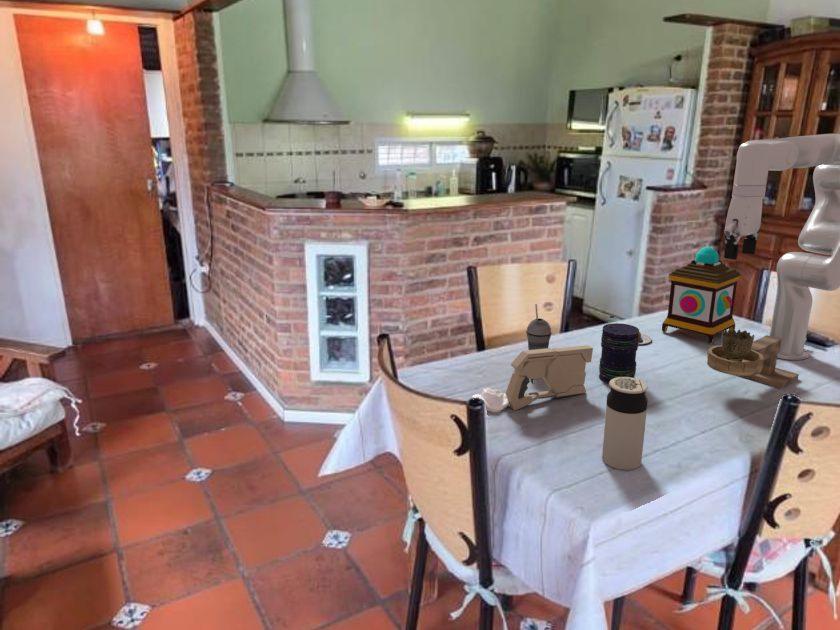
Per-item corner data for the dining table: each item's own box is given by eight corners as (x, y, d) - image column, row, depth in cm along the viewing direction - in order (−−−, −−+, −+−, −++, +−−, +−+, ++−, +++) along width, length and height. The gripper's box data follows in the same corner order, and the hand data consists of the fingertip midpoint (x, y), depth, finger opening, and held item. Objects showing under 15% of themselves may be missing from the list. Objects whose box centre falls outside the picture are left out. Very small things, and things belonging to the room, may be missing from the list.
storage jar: (640, 377, 167) (646, 317, 162) (625, 388, 160) (631, 326, 155) (607, 368, 173) (612, 310, 168) (592, 379, 167) (596, 319, 161)
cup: (755, 367, 149) (760, 338, 147) (726, 367, 150) (730, 338, 147) (741, 356, 156) (745, 328, 154) (713, 357, 157) (716, 328, 154)
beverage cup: (544, 375, 170) (547, 309, 164) (521, 370, 174) (523, 306, 168) (553, 367, 176) (556, 303, 170) (530, 362, 179) (532, 299, 173)
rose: (468, 394, 149) (475, 379, 158) (468, 410, 150) (475, 394, 159) (507, 398, 146) (512, 382, 155) (507, 414, 147) (512, 398, 156)
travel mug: (600, 467, 124) (606, 389, 118) (603, 448, 131) (609, 374, 125) (640, 474, 121) (649, 394, 115) (641, 454, 128) (649, 378, 122)
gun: (510, 411, 148) (516, 355, 144) (503, 406, 151) (509, 351, 147) (586, 400, 158) (594, 347, 154) (578, 395, 161) (586, 343, 157)
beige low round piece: (618, 332, 205) (619, 320, 204) (654, 338, 199) (655, 325, 198) (610, 343, 195) (611, 330, 194) (647, 349, 189) (649, 335, 188)
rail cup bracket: (746, 364, 174) (752, 327, 171) (797, 379, 164) (805, 340, 160) (691, 391, 157) (696, 351, 154) (744, 410, 147) (751, 367, 143)
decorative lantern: (684, 320, 215) (693, 239, 206) (740, 333, 201) (753, 246, 192) (655, 332, 203) (664, 246, 194) (712, 347, 189) (725, 255, 180)
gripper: (749, 188, 161) (741, 249, 166) (717, 193, 151) (709, 258, 156) (779, 190, 155) (769, 253, 160) (747, 195, 145) (737, 263, 150)
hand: (739, 256), depth 158 cm, fingers open, 9 cm apart
